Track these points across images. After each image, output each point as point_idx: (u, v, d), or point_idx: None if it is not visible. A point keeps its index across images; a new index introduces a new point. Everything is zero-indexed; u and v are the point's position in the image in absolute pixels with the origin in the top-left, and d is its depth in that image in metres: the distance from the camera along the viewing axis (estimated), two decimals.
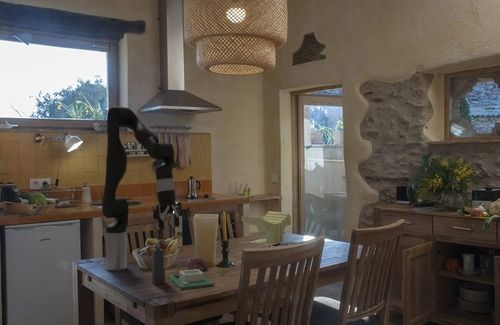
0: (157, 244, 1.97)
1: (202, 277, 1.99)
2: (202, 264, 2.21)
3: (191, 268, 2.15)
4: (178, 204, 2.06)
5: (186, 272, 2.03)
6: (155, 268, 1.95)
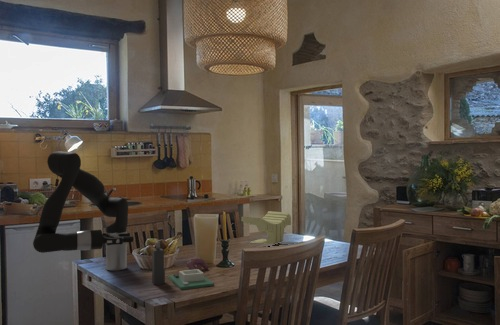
0: (157, 244, 1.97)
1: (202, 277, 1.99)
2: (203, 264, 2.21)
3: (192, 268, 2.14)
4: None
5: (186, 272, 2.03)
6: (155, 268, 1.95)
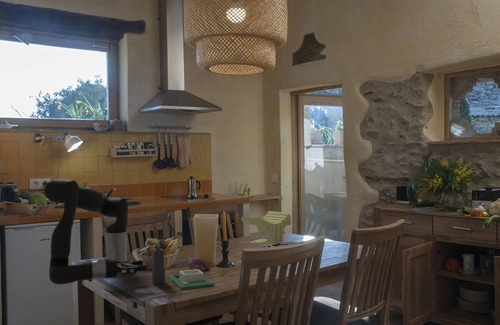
0: (157, 244, 1.97)
1: (202, 277, 1.99)
2: (204, 264, 2.21)
3: (193, 268, 2.14)
4: None
5: (186, 272, 2.03)
6: (155, 268, 1.95)
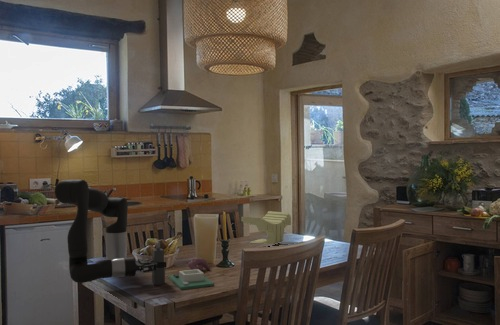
0: (157, 244, 1.97)
1: (202, 277, 1.99)
2: (204, 264, 2.21)
3: (194, 268, 2.14)
4: None
5: (186, 272, 2.03)
6: None
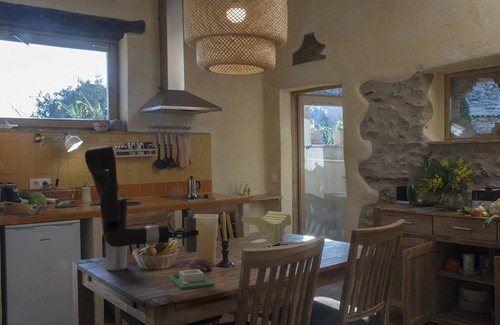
0: (189, 212, 1.99)
1: (202, 277, 1.99)
2: (206, 264, 2.21)
3: None
4: None
5: (186, 272, 2.03)
6: None
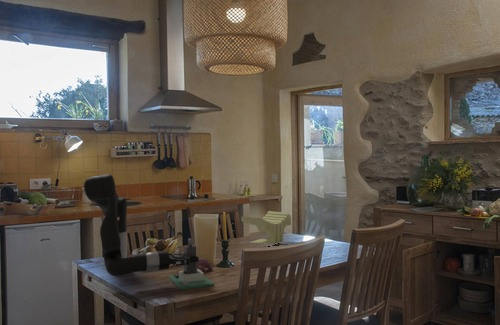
0: (189, 240, 1.99)
1: (202, 277, 1.99)
2: (207, 265, 2.20)
3: None
4: None
5: None
6: None
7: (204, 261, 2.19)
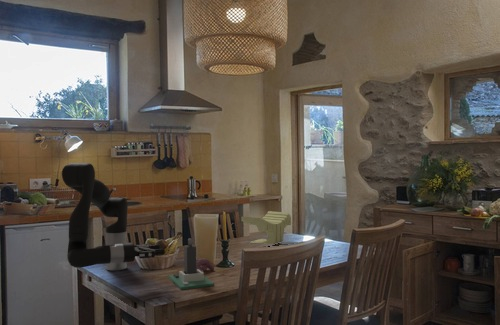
0: (189, 240, 1.99)
1: (202, 277, 1.99)
2: (208, 265, 2.20)
3: None
4: None
5: None
6: (188, 264, 1.98)
7: (205, 261, 2.19)
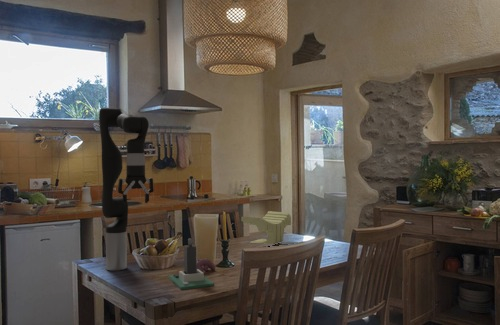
0: (189, 240, 1.99)
1: (202, 277, 1.99)
2: (210, 265, 2.19)
3: (199, 269, 2.12)
4: (149, 180, 2.00)
5: None
6: (188, 264, 1.98)
7: (207, 261, 2.19)
